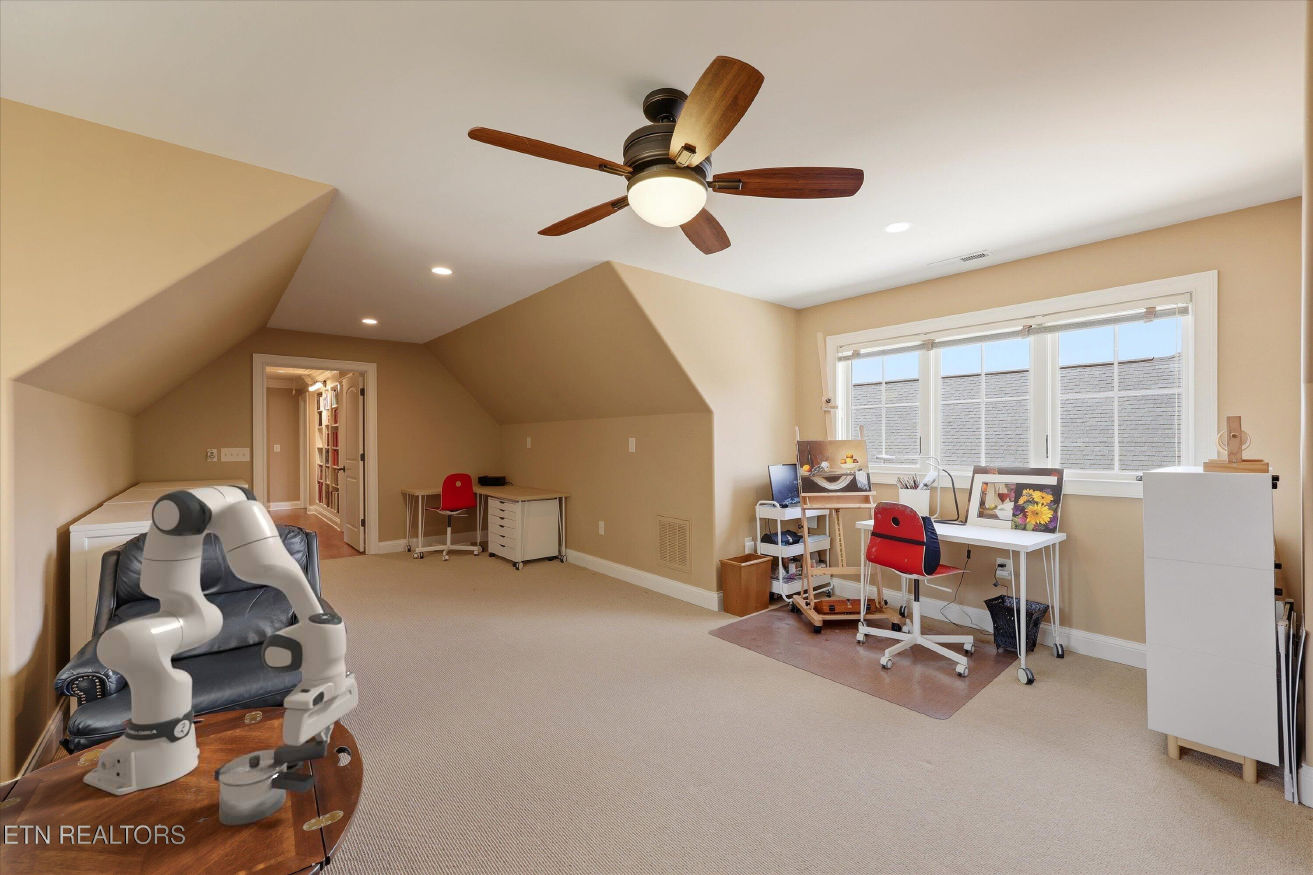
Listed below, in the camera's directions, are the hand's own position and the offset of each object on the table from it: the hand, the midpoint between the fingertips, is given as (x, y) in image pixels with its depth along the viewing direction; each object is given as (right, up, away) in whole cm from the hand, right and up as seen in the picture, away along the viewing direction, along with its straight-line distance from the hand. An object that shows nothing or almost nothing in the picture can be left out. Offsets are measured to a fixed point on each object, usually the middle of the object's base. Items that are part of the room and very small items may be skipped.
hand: (323, 744), depth 132 cm
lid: (-8, -2, -5) cm, 10 cm away
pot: (-9, -10, -7) cm, 15 cm away
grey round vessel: (-13, -11, +9) cm, 19 cm away
